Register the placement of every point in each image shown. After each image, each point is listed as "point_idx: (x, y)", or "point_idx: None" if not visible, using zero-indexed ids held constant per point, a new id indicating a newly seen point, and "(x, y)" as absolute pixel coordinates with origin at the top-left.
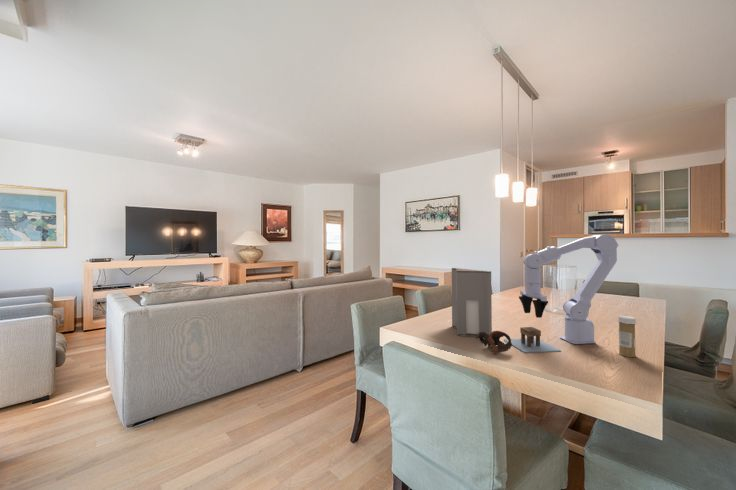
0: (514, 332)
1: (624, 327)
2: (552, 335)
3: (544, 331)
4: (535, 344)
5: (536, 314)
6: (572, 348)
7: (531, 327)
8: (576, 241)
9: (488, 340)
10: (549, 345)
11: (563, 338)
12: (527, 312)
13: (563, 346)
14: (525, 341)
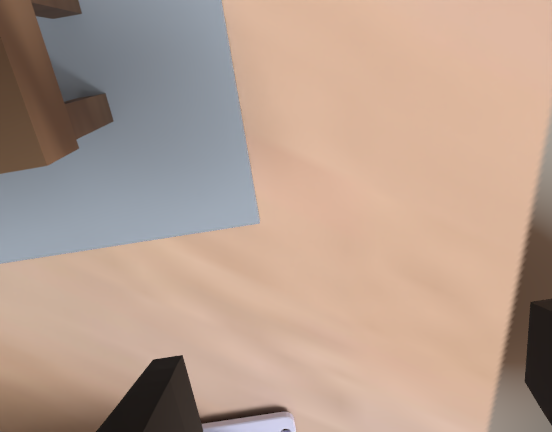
0: (491, 93)
1: None
2: (363, 391)
3: (477, 381)
4: None
5: (127, 397)
6: (35, 383)
7: (6, 138)
8: None
9: None
10: (37, 241)
11: (243, 424)
12: (537, 347)
13: (73, 345)
14: (128, 56)
